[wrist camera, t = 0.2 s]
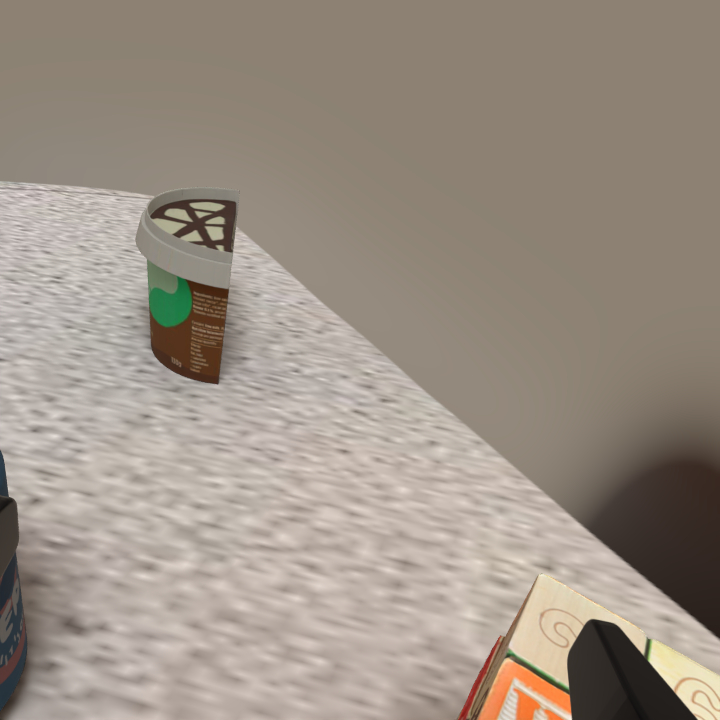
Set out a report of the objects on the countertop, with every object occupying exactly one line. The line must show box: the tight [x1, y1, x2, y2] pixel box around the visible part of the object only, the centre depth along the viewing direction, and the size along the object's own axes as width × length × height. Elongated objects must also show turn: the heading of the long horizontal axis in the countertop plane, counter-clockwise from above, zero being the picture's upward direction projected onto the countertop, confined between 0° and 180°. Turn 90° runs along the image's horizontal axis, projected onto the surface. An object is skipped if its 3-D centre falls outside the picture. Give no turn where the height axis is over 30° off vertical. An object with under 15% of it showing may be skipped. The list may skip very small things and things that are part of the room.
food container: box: [136, 187, 240, 384], centre depth 41 cm, size 12×6×10 cm, turn 7°
